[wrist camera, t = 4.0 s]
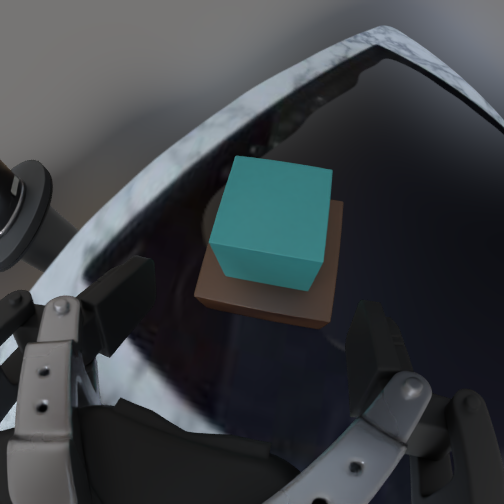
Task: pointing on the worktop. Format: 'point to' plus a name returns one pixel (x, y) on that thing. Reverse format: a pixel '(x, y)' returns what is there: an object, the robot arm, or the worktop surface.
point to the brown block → (276, 287)
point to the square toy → (273, 222)
